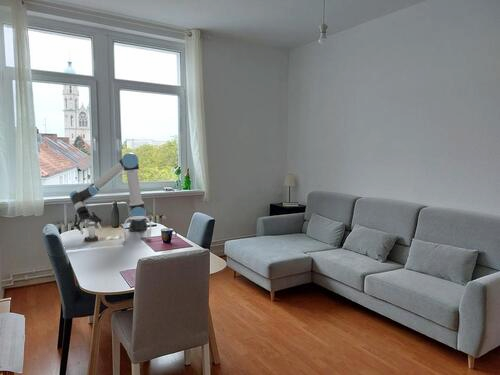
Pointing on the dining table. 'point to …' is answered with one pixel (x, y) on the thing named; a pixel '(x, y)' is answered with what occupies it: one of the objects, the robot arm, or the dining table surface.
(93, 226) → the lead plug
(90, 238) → the cable board
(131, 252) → the dining table surface
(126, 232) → the headset
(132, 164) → the robot arm
